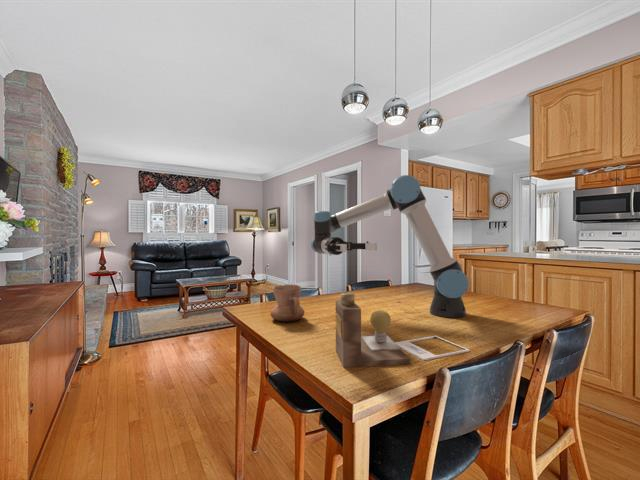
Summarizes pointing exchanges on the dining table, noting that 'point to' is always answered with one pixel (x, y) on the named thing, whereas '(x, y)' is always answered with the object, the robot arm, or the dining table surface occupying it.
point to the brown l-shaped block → (361, 339)
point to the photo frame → (423, 353)
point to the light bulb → (380, 325)
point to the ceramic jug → (287, 303)
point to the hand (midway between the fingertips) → (361, 247)
